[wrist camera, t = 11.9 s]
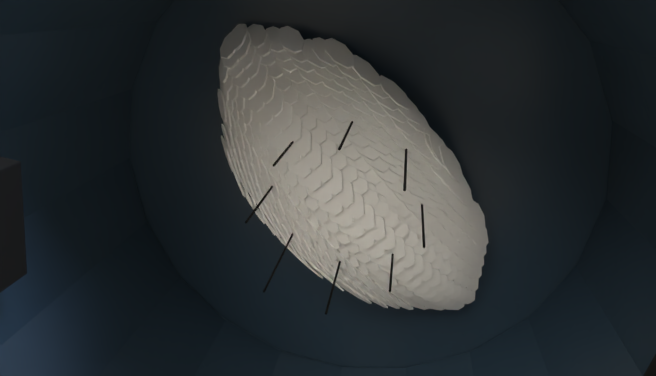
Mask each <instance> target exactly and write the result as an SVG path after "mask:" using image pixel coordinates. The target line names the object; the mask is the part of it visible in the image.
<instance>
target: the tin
mask: <svg viewBox="0 0 656 376" xmlns="http://www.w3.org/2000/svg"><path fill="white" fill-rule="evenodd" d="M238 24H246V25H247V28H248V27H249V26H251V25H252V24H257V25H262V26H263V27H264V29H265V30H266V28H269V27H272V26H274V27H277V28H279V29H280V28H281V27H285V26H289V27H291V28H293V29H295V30H297V31H299V33H300V34H301V36H302V38H303V39H304V40H306V39H311V40H313V38H318V37H320V38H322V39H324V40H325V39H329V38H333V39H335V40H337V41H339V42H341V43H343V44H345V45H346V47H347V48H348V49H349V50H350V51H351V53H352V54H353V55H357V56H359V57H360V58H362V59H363V60H365V61H367V62H368V63H370V65H371V66H372V67H373V68H374V69H375V71H376V72H377V73H378V74H379V76H381V75H382V76H384V77H386V78H388V79H390V80H392V81H393V82H395V83H396V84H397V85H398V86H399V87H400V88H401V89H402V90H403V91H404V92H405V93H406V95H407V97H408V98H409V99H410V100H411V101H412V102H413V103H414V104H415V105H416V107H417V108H418V111H419V112H420V113H421V114H422V115H423V116H424V117H425V119H426V121H427V123H428V125H429V127H430V128H431V129H432V130H433V131H434V132H436V133H437V134H438V136H439V137H440V138H441V139H442V140H443V142H444V143H445V145H446V147H448V148H449V149H450V150H451V151H452V152H453V153H454V155H455V157H456V159H457V160H458V162H459V164H460V166H461V170H462V174H463V176H464V178H465V179H466V181H467V183H468V185H469V187H470V189H471V194H472V199H473V201H475V202H476V203H478V204H479V206H480V208H481V210H482V212H483V214H484V216H485V227H486V229H487V235H488V242H489V243H488V244H487V245H486V252H487V253H486V254H485V255H484V265H483V266H482V267H481V268H482V275H481V276H480V278H479V281H478V289H477V290H476V291H475V300H474V301H473V302H471V303H469V304H464V307H463V308H461V309H459V310H446V309H444V310H442V311H441V310H435V309H426V310H423V309H419V308H416V307H413V308H414V309H413V310H408V309H405V308H402V307H400V306H399V307H400V309H396V308H393V307H391V306H388V305H387V306H388V308H384V307H382V306H380V305H378V304H376V303H374V302H372V301H371V300H370V301H371V302H372V304H369V303H367V302H365V301H363V300H361V299H359V298H357V297H356V296H354V295H352V294H351V293H349V292H348V291H346V290H345V289H343V288H342V287H341V286H340V287H341V288H342V289H343V290H344V291H342V290H340V289H339V288H338V287H337V286H334V290H333V294H332V298H331V301H330V305H329V309H328V313H327V315H326V314H325V310H326V307H327V303H328V300H329V296H330V292H331V289H332V285H333V284H332V283H331V282H330V281H329V280H327V279H326V278H325V277H323V279H322V278H320V277H319V276H318V275H316V274H315V273H314V272H313V271H311V270H310V269H309V268H308V267H307V266H306V265H304V264H303V263H302V262H301V261H300V260H299V259H298V258H297V257H296V256H295V255H294V254H293V253H292V252H291V251H290V250H289V249H288V248H287V249H286V251H285V253H284V255H283V257H282V259H281V261H280V263H279V265H278V267H277V269H276V271H275V273H274V275H273V277H272V279H271V281H270V283H269V285H268V287H267V289H266V291H265V293H264V292H263V290H264V288H265V286H266V284H267V282H268V280H269V278H270V276H271V274H272V272H273V270H274V268H275V266H276V264H277V262H278V260H279V258H280V256H281V254H282V252H283V250H284V248H285V245H284V244H282V243H281V241H280V240H279V239H278V238H277V236H276V235H275V236H274V234H273V233H272V232H271V230H270V229H269V228H268V226H267V225H266V223H265V224H263V222H262V221H261V220H260V219H259V217H258V216H257V215H256V213H254V214H253V216H252V217H251V218H250V220H249V221H248V222H247V223H245V221H246V220H247V218H248V217H249V216H250V214H251V213H252V212H253V209H252V207H251V205H250V204H249V202H248V201H247V199H246V197H244V196H243V195H242V192H241V190H240V188H239V186H238V183H237V181H236V178H235V176H234V173H233V172H232V171H231V168H230V166H229V163H228V160H227V157H226V154H225V151H224V148H223V144H222V141H221V136H223V132H222V127H221V124H223V125H224V123H223V119H222V118H221V114H220V109H219V103H218V94H217V93H218V89H220V79H219V65H220V59H221V56H220V48H221V45H222V43H223V41H224V38H225V37H226V36H227V35H228V34H229V33H230V32H232V30H233V29H234V28H235V27H236V26H237V25H238ZM223 138H224V136H223ZM0 156H1V157H5V158H9V159H13V160H17V161H21V175H22V192H23V209H24V227H25V244H26V261H27V274H26V275H24V276H23V277H21V278H20V279H19V280H17V281H16V282H15V283H13V284H12V285H10V286H9V287H8V288H6V289H5V290H3V291H2V292H1V293H0V376H643V375H644V373H645V371H646V370H647V368H648V366H649V365H650V363H651V361H652V359H653V358H654V356H655V354H656V0H0ZM242 186H243V185H242ZM243 188H244V187H243ZM248 194H249V193H248ZM249 196H250V194H249ZM250 197H251V196H250ZM251 199H252V198H251ZM256 205H257V203H256ZM258 209H259V207H258ZM259 210H260V209H259ZM280 238H281V237H280ZM305 261H306V260H305ZM306 262H307V261H306ZM307 263H308V262H307ZM308 264H309V263H308ZM309 265H310V264H309ZM317 272H318V271H317ZM318 273H319V272H318ZM319 274H320V273H319ZM320 275H321V274H320ZM368 300H369V299H368Z"/></svg>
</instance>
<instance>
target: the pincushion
mask: <svg viewBox="0 0 656 376" xmlns="http://www.w3.org/2000/svg"><path fill="white" fill-rule="evenodd" d="M220 56H221V59H220V65H219V79H220V89H218V93H217V94H218V103H219V109H220V114H221V118H222V119H223V123H224V125H223V124H221V127H222V132H223V136H224V138H223V136H221V141H222V144H223V148H224V151H225V154H226V157H227V160H228V163H229V166H230V168H231V171H232V172H233V173H234V176H235V178H236V181H237V183H238V186H239V188H240V190H241V192H242V195H243V196H244V197H246V199H247V201H248V202H249V204H250V205H251V207H252V209H253V212H252V213H251V214H250V216H249V217H248V218H247V220H246V221H245V223H247V222H248V221H249V220H250V218H251V217H252V216H253V214H254V213H256V215H257V216H258V217H259V219H260V220H261V221H262V222H263V224H265V223H266V225H267V226H268V228H269V229H270V230H271V232H272V233H273V234H274V236H275V235H276V236H277V238H278V239H279V240H280V241H281V243H282V244H284V245H285V248H284V250H283V252H282V254H281V256H280V258H279V260H278V262H277V264H276V266H275V268H274V270H273V272H272V274H271V276H270V278H269V280H268V282H267V284H266V286H265V288H264V290H263V292H264V293H265V291H266V289H267V287H268V285H269V283H270V281H271V279H272V277H273V275H274V273H275V271H276V269H277V267H278V265H279V263H280V261H281V259H282V257H283V255H284V253H285V251H286V249H287V248H288V249H289V250H290V251H291V252H292V253H293V254H294V255H295V256H296V257H297V258H298V259H299V260H300V261H301V262H302V263H303V264H304V265H306V266H307V267H308V268H309V269H310V270H311V271H313V272H314V273H315V274H316V275H318V276H319V277H320V278H322V279H323V277H325V278H326V279H327V280H329V281H330V282H331V283H332V284H333V285H332V289H331V292H330V296H329V300H328V303H327V307H326V310H325V314H326V315H327V313H328V309H329V305H330V301H331V298H332V294H333V290H334V286H337V287H338V288H339V289H340V290H342V291H344V290H343V289H345V290H346V291H348V292H349V293H351V294H352V295H354V296H356V297H357V298H359V299H361V300H363V301H365V302H367V303H369V304H372V302H374V303H376V304H378V305H380V306H382V307H384V308H388V306H391V307H393V308H396V309H400V307H402V308H405V309H408V310H413V309H414V308H413V307H416V308H419V309H423V310H426V309H435V310H441V311H442V310H444V309H446V310H459V309H461V308H463V307H464V304H469V303H471V302H473V301H474V300H475V291H476V290H477V289H478V281H479V278H480V276H481V275H482V268H481V267H482V266H483V265H484V255H485V254H486V253H487V252H486V245H487V244H488V243H489V242H488V235H487V229H486V227H485V216H484V214H483V212H482V210H481V208H480V206H479V204H478V203H476V202H475V201H473V199H472V194H471V189H470V187H469V185H468V183H467V181H466V179H465V178H464V176H463V174H462V170H461V166H460V164H459V162H458V160H457V159H456V157H455V155H454V153H453V152H452V151H451V150H450V149H449V148H448V147H446V145H445V143H444V142H443V140H442V139H441V138H440V137H439V136H438V134H437V133H436V132H434V131H433V130H432V129H431V128H430V127H429V125H428V123H427V121H426V119H425V117H424V116H423V115H422V114H421V113H420V112H419V111H418V108H417V107H416V105H415V104H414V103H413V102H412V101H411V100H410V99H409V98H408V97H407V95H406V93H405V92H404V91H403V90H402V89H401V88H400V87H399V86H398V85H397V84H396V83H395V82H393V81H392V80H390V79H388V78H386V77H384V76H382V75H381V76H379V74H378V73H377V72H376V71H375V69H374V68H373V67H372V66H371V65H370V63H368V62H367V61H365V60H363V59H362V58H360V57H359V56H357V55H353V54H352V53H351V51H350V50H349V49H348V48H347V47H346V45H345V44H343V43H341V42H339V41H337V40H335V39H333V38H329V39H325V40H324V39H322V38H320V37H318V38H313V40H311V39H306V40H304V39H303V38H302V36H301V34H300V33H299V31H297V30H295V29H293V28H291V27H289V26H285V27H281V28H280V29H279V28H277V27H274V26H272V27H269V28H266V30H265V29H264V27H263V26H262V25H257V24H252V25H251V26H249V27H248V28H247V25H246V24H238V25H237V26H236V27H235V28H234V29H233V30H232V32H230V33H229V34H228V35H227V36H226V37H225V38H224V41H223V43H222V45H221V48H220ZM242 185H243V186H242ZM243 187H244V188H243ZM248 193H249V194H250V196H251V197H250V196H249V194H248ZM251 198H252V199H251ZM256 203H257V205H256ZM258 207H259V209H260V210H259V209H258ZM280 237H281V238H280ZM305 260H306V261H307V262H308V263H309V264H310V265H309V264H308V263H307V262H306V261H305ZM317 271H318V272H319V273H320V274H321V275H320V274H319V273H318V272H317ZM340 286H341V287H342V288H343V289H342V288H341V287H340ZM368 299H369V300H368ZM370 300H371V301H372V302H371V301H370ZM387 305H388V306H387ZM399 306H400V307H399Z"/></svg>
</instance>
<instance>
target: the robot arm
mask: <svg viewBox="0 0 656 376" xmlns="http://www.w3.org/2000/svg"><path fill="white" fill-rule="evenodd" d="M26 274H27V261H26V244H25V227H24V209H23V192H22V175H21V161H17V160H13V159H9V158H5V157H1V156H0V293H1V292H2V291H3V290H5V289H6V288H8V287H9V286H10V285H12V284H13V283H15V282H16V281H17V280H19V279H20V278H21V277H23V276H24V275H26ZM643 376H656V354H655V356H654V358H653V359H652V361H651V363H650V365H649V366H648V368H647V370H646V371H645V373H644V375H643Z"/></svg>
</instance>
